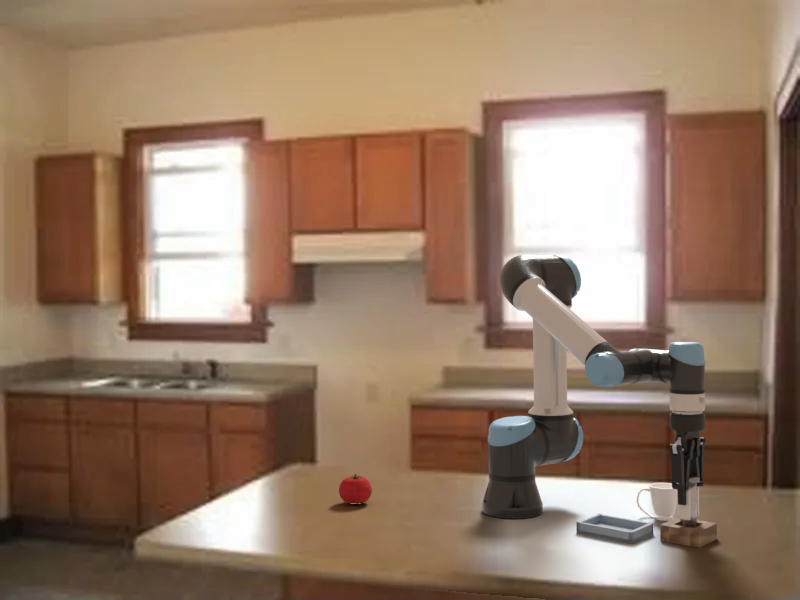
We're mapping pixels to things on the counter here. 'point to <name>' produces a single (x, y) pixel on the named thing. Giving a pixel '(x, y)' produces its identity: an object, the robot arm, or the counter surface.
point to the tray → (615, 528)
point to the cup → (661, 500)
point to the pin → (692, 503)
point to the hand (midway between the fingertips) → (688, 516)
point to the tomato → (355, 489)
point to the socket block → (688, 533)
